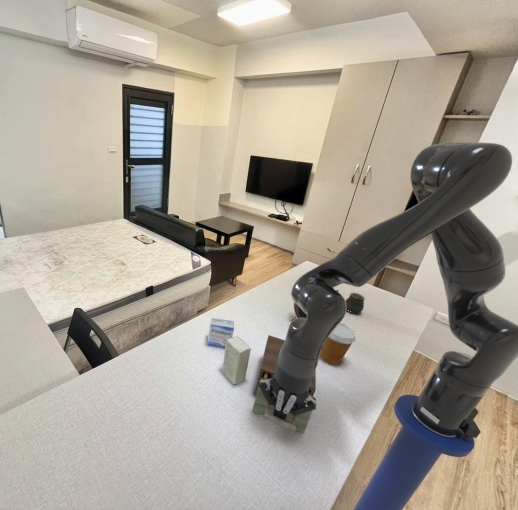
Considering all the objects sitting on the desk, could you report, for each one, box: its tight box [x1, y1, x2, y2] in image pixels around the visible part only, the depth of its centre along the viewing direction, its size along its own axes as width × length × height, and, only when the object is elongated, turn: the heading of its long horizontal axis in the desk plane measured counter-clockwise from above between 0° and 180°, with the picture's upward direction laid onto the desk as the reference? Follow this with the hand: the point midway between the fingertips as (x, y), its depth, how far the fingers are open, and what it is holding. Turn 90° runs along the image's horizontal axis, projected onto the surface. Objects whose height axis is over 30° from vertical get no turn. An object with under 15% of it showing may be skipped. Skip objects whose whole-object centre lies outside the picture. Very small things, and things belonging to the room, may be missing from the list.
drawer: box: [251, 372, 313, 434], centre depth 72 cm, size 19×13×8 cm, turn 155°
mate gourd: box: [345, 292, 366, 315], centre depth 121 cm, size 7×8×10 cm
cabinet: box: [253, 334, 317, 397], centre depth 80 cm, size 16×14×10 cm
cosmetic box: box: [221, 335, 252, 385], centre depth 81 cm, size 6×4×12 cm
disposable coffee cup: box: [319, 322, 357, 366], centre depth 92 cm, size 10×10×12 cm
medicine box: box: [207, 317, 235, 349], centre depth 95 cm, size 8×4×9 cm, turn 81°
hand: (278, 418), depth 66 cm, fingers closed
